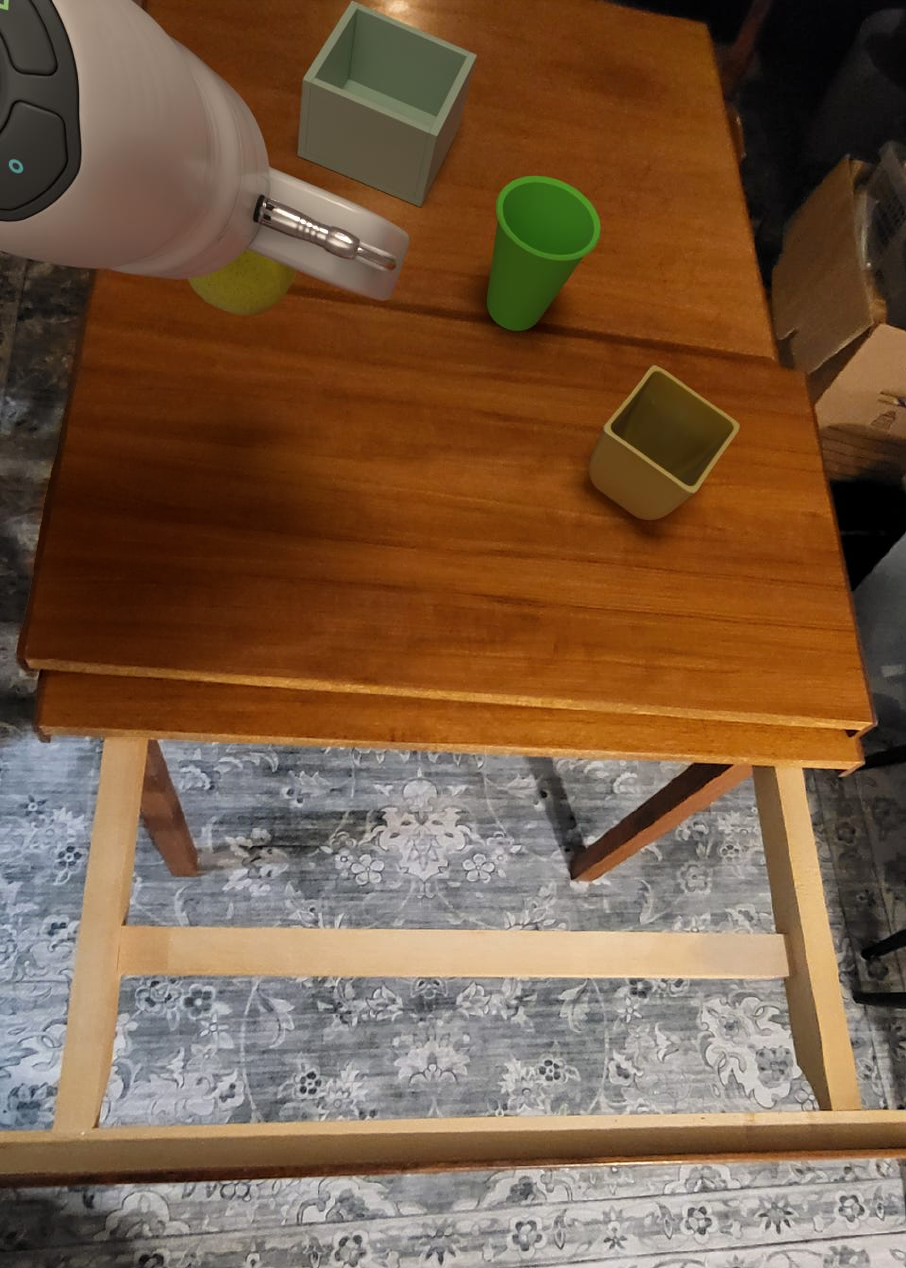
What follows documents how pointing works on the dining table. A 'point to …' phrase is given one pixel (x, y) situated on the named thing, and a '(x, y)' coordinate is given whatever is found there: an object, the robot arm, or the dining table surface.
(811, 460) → the dining table surface
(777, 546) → the dining table surface
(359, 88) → the bin
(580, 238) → the cup
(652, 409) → the flower pot
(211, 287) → the fruit
